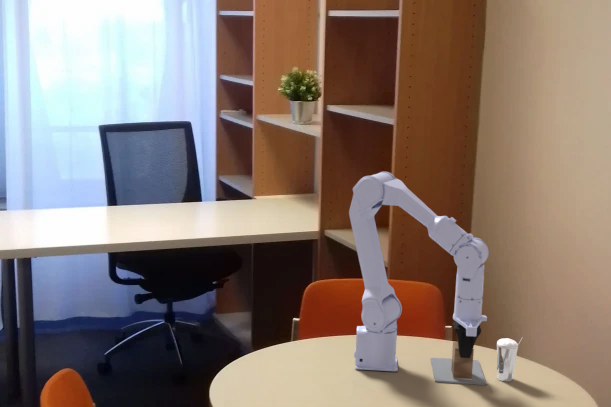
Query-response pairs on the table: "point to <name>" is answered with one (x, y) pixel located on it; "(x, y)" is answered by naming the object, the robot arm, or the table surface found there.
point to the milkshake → (506, 358)
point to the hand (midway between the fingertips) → (464, 356)
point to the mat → (445, 375)
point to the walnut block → (461, 364)
